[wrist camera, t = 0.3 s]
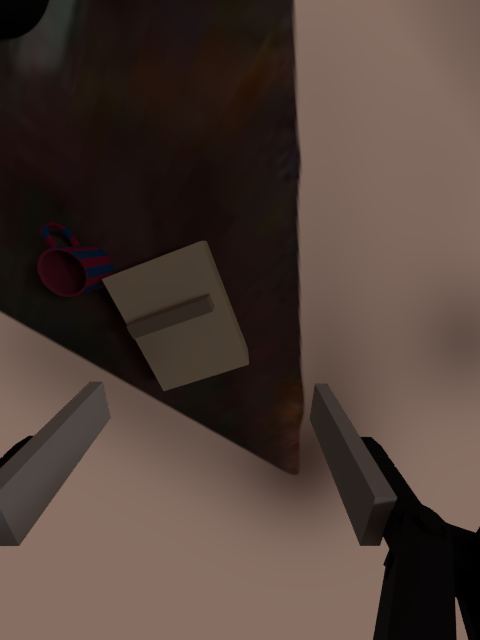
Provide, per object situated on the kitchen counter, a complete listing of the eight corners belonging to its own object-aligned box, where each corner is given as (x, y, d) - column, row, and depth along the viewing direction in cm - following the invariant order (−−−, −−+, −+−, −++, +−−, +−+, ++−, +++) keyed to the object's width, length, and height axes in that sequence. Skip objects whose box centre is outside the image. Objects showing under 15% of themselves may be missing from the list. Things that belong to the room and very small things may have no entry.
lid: (104, 278, 33) (88, 282, 29) (201, 241, 31) (197, 241, 28) (164, 388, 39) (157, 403, 36) (248, 362, 37) (249, 374, 34)
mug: (82, 291, 38) (50, 301, 32) (55, 228, 35) (14, 225, 29) (120, 284, 38) (96, 293, 32) (97, 219, 35) (64, 215, 28)
